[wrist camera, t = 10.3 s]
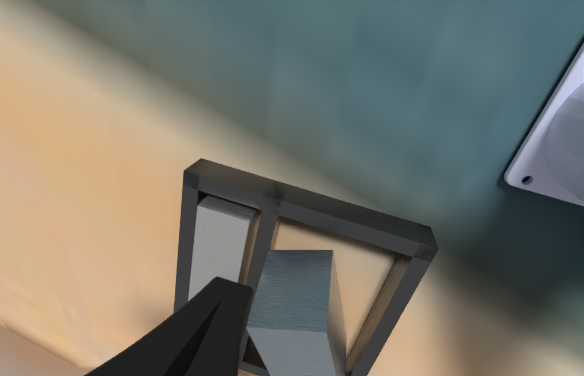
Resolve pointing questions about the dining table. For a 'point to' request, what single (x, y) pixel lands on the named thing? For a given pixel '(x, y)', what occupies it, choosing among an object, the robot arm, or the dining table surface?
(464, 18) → the dining table surface
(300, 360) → the brushed metal pillar
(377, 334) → the frame
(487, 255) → the dining table surface
